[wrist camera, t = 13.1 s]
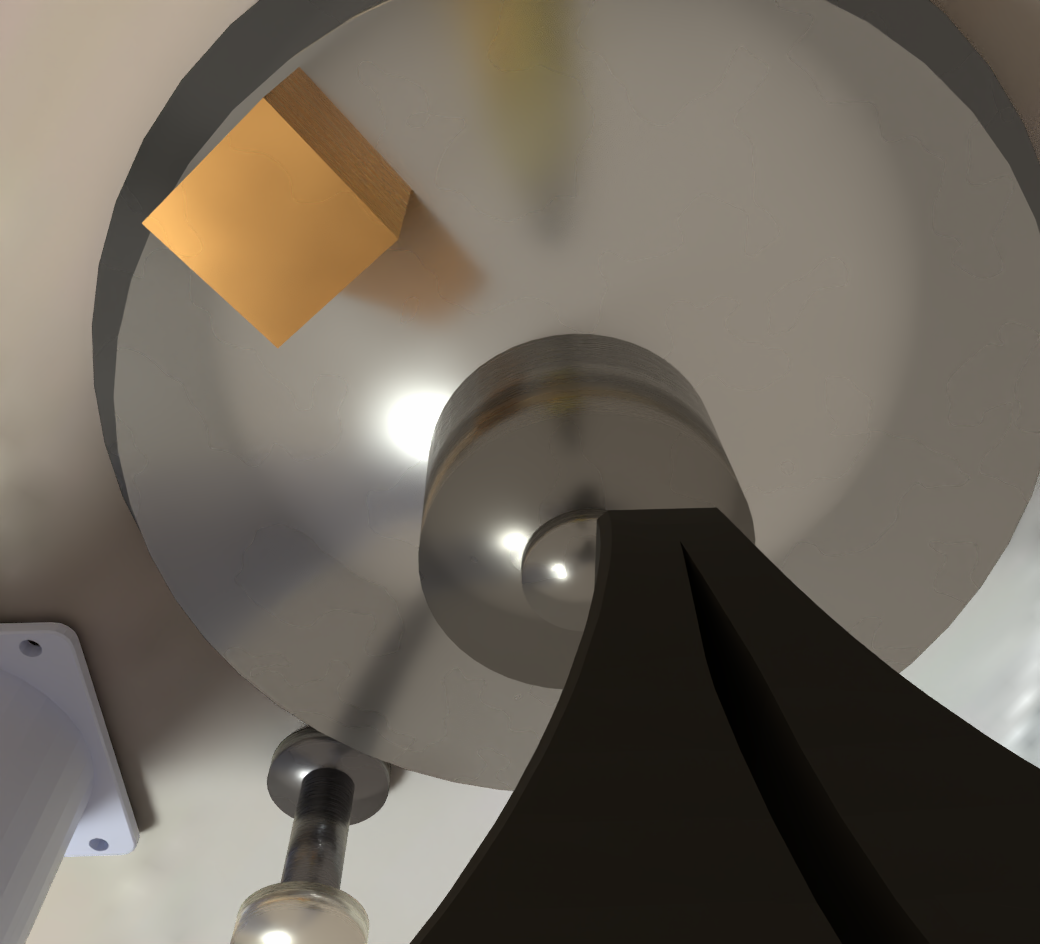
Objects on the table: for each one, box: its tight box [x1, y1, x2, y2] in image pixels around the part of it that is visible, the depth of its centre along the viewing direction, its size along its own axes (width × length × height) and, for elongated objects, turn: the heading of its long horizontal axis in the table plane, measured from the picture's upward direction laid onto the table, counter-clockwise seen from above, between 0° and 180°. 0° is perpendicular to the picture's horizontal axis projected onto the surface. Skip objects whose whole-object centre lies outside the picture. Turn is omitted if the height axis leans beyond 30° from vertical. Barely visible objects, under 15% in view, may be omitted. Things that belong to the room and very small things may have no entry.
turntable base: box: [92, 0, 1040, 534], centre depth 21 cm, size 20×20×1 cm
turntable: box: [114, 0, 1040, 791], centre depth 18 cm, size 18×18×4 cm
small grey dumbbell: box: [231, 727, 391, 944], centre depth 24 cm, size 3×3×5 cm
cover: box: [418, 334, 755, 690], centre depth 17 cm, size 6×6×4 cm
